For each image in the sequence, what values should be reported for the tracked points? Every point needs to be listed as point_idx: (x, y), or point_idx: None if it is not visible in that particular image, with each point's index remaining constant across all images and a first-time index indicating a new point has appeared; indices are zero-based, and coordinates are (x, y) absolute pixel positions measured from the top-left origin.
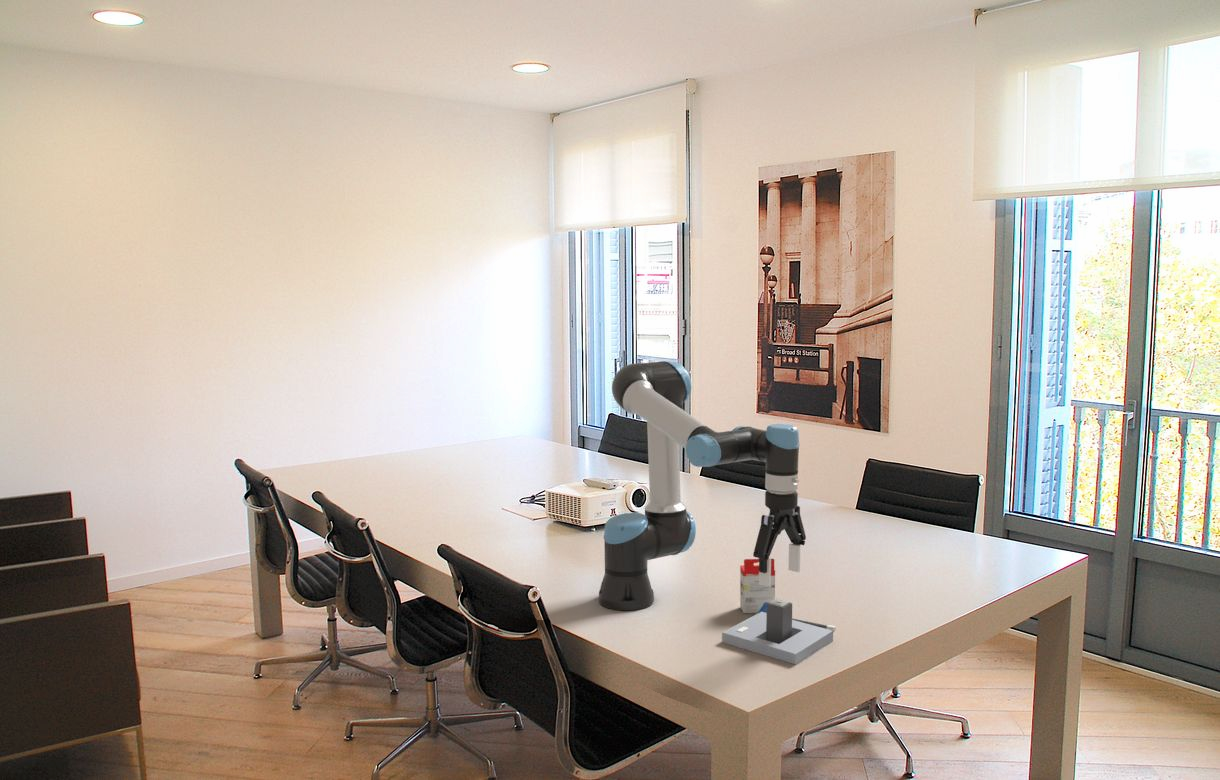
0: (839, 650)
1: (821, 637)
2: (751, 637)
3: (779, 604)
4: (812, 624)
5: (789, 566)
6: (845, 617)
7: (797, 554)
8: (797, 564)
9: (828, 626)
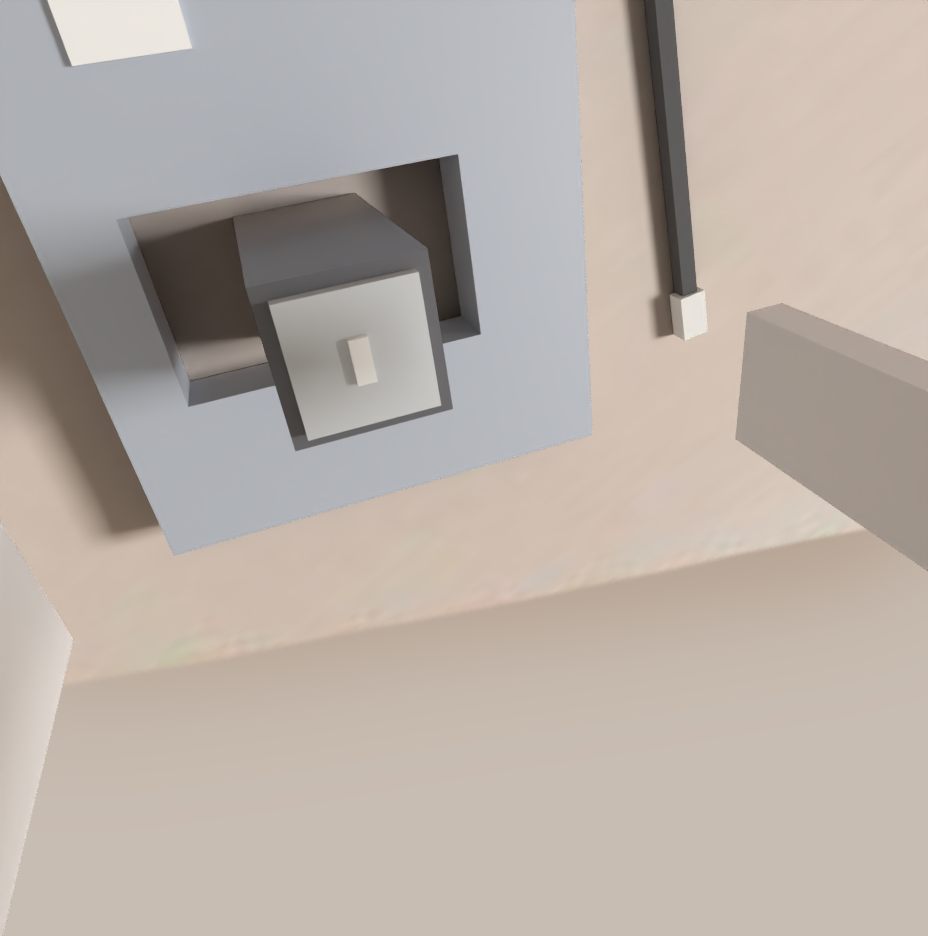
0: (491, 504)
1: (471, 466)
2: (83, 200)
3: (313, 402)
4: (672, 211)
5: (782, 341)
6: (865, 240)
7: (925, 547)
8: (803, 474)
9: (682, 309)
